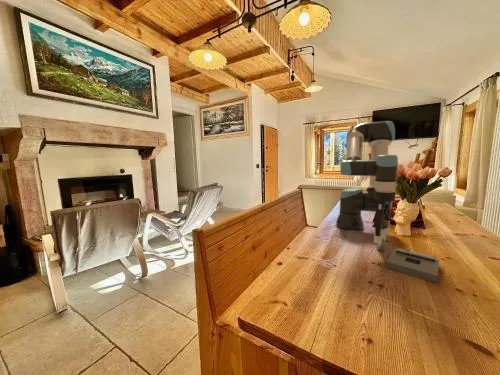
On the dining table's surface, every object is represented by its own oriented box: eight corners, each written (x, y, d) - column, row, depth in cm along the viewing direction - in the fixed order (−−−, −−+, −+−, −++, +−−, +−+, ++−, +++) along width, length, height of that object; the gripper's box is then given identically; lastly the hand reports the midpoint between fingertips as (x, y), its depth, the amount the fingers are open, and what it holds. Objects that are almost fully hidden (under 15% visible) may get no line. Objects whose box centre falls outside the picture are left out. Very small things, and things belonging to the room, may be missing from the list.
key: (373, 249, 90) (374, 219, 88) (375, 246, 93) (377, 217, 91) (386, 253, 86) (388, 221, 84) (388, 250, 89) (390, 219, 87)
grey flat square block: (385, 267, 75) (386, 257, 74) (393, 255, 84) (394, 245, 84) (436, 283, 65) (438, 271, 64) (438, 266, 75) (439, 256, 74)
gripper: (388, 195, 75) (385, 249, 77) (400, 188, 92) (397, 233, 95) (366, 193, 80) (363, 244, 83) (381, 187, 97) (378, 229, 100)
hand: (381, 238), depth 89 cm, fingers open, 13 cm apart
